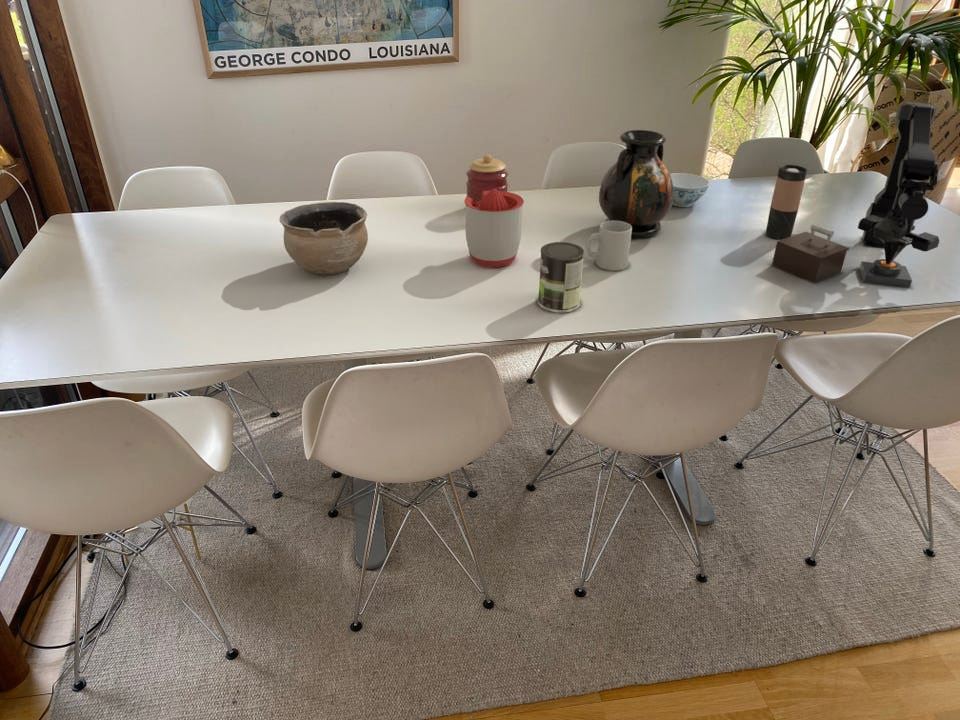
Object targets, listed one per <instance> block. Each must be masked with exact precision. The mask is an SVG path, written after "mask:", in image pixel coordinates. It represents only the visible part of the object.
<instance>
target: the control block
mask: <svg viewBox="0 0 960 720" xmlns="http://www.w3.org/2000/svg"><path fill="white" fill-rule="evenodd" d="M881 261H886V260H885V258H880V259H878V258H877V259H876V260H874V261H873V262H871V261H861V262H860V265H859V273H860V275H861V278H862V282H863V283H865V284H872V285H873V284H875V285H881V286H882V285H883V286H890V287H900V288H906V289H907V288H908V289H910V288H911V286H912V282H913V279H912V277H911V274H910V272H909V270H908V268H907V266H906V265H902V264H901V263H899V262H898V261H895V260H893V261H892V262H893V263H895V264H896V266H895V267H894V268H889V267H885V266H882V265H880V263H881Z"/></svg>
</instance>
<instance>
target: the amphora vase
mask: <svg viewBox="0 0 960 720" xmlns="http://www.w3.org/2000/svg"><path fill="white" fill-rule="evenodd" d="M619 139H620V141H621V142H623V143H624V144H625V148H624V149H622V150H621V151H620V152H619V154H618V156H617V160H616V161H615V162H614V163H613V164H611V166H610V167H609V168H608V169H607V171H606V173H605V174H604V176H603V179H602V181H601V183H600V187H599V193H598V203H599V207H600V209H601V211H602V212H603V214H604V216H605V217H606V219H605V221H604V222H606V221H622V222H626V223H628V224H630V225H631V226H632V233H631V239H643V238H650V237H652V236H655V235H657V234H659V232H660V231H661V228H662V227H661V226H662V225H661V223H660V222H662V221H663V220H664V219H665V218H666V217H667V215H668V214H669V213H670V211H671V210H672V207H673V206H674V205H673V199H674V191H673V182H672V178H671V175H670V174H671V173H670V172H669V169H668V168H667V167H666V166H665V164H664V163H663V158H664V144H665V143H666V142H667V137H666V136H665V135H664V134H663V133H662V132H661V133H660V132H657V131H653V130H646V129H633V130H626V131H624V132H622V133H621V134H620V135H619Z"/></svg>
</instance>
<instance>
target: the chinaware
mask: <svg viewBox="0 0 960 720" xmlns="http://www.w3.org/2000/svg"><path fill="white" fill-rule="evenodd" d="M670 175H671V178H672V182H673V191H674V199H673V205H672V206H675V207H678V208H689V207H691V206H693V204H694V203H696V202H698V201H699V200H700V199H701V198H703V196H704V195H705V193H706V192H707V190H708V188H709V185H710V181H709V180H708V179H707V178H706V177H704V176H701V175H698V174H693V173H685V172H674V173H670Z"/></svg>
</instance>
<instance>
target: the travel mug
mask: <svg viewBox="0 0 960 720" xmlns="http://www.w3.org/2000/svg"><path fill="white" fill-rule="evenodd" d="M807 173H808V170H807V168H806V167H803V166H800V165H795V164H785V165H784V166H782V167H781V166H779V167H778V172H777V176H776V180H775V185H774V188H773V189H774V190H773V193H772V197H771V203H770V206H769V212H768V217H767V223H766V229H765V235H766V237H768V238H771V239H774V240H778V241H779V240H782V239H785V238H788V237H791V236H792V234H793V231H794V227H795V223H796V219H797V216H798V212H799V208H800V205H801V200H802V194H803V191H804V187H805V181H806V176H807Z"/></svg>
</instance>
